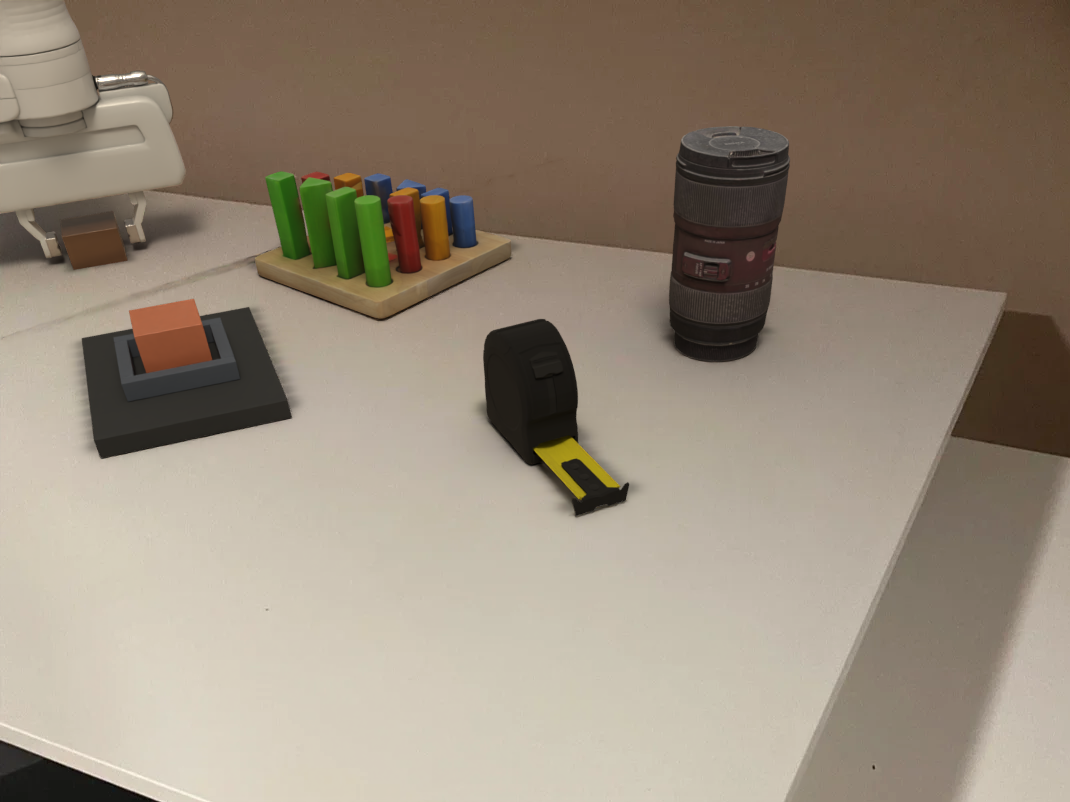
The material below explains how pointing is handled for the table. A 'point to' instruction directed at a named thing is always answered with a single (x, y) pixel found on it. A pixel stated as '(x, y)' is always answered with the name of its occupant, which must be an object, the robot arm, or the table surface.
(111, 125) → the robot arm
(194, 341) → the orange block
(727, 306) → the camera lens
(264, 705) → the table surface
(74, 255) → the brown block
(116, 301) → the table surface
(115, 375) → the black socket base
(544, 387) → the tape measure
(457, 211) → the peg board
